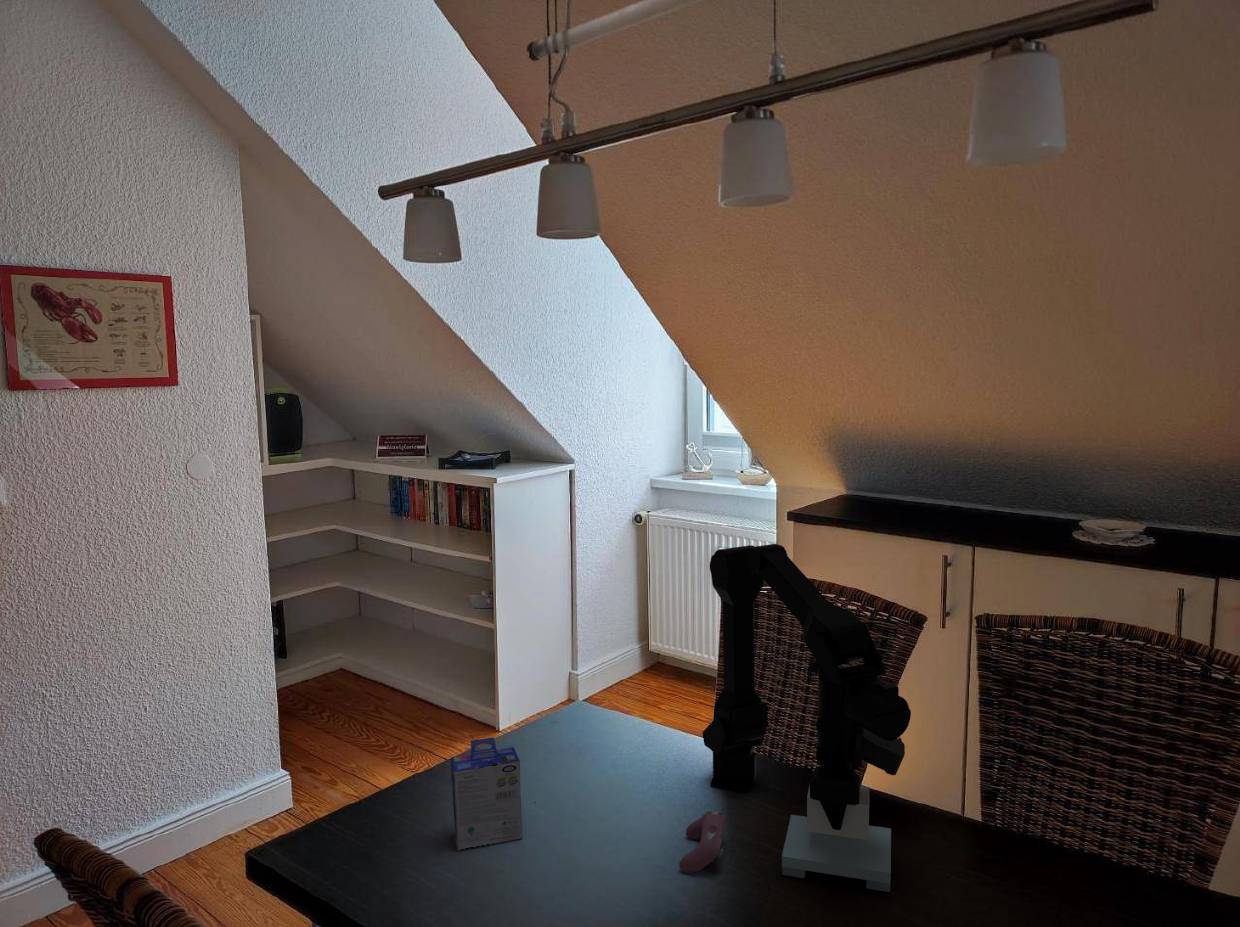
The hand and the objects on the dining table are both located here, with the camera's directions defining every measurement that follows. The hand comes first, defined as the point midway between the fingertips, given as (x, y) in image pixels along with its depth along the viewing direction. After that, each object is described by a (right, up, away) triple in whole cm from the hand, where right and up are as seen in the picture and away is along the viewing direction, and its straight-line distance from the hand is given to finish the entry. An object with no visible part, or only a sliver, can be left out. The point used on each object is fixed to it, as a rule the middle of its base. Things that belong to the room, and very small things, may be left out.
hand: (837, 818), depth 119 cm
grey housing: (0, -1, 0) cm, 1 cm away
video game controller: (-18, -7, +3) cm, 20 cm away
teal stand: (0, -6, +1) cm, 6 cm away
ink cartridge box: (-50, -7, +9) cm, 51 cm away
